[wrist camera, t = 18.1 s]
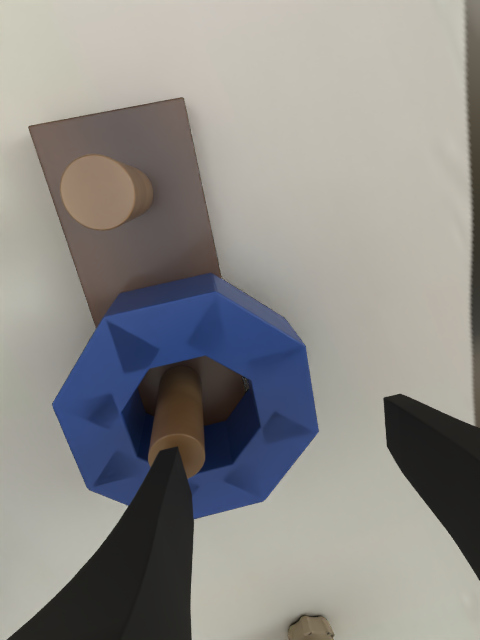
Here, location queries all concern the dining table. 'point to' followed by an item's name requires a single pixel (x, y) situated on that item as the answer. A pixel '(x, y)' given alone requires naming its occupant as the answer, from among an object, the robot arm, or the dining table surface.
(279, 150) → the dining table surface
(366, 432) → the dining table surface
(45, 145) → the rack
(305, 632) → the handle
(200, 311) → the ring
